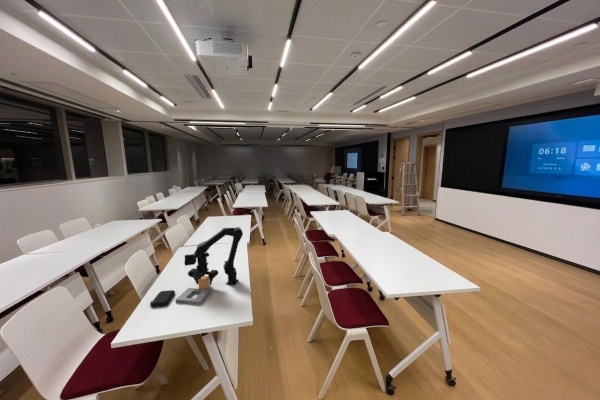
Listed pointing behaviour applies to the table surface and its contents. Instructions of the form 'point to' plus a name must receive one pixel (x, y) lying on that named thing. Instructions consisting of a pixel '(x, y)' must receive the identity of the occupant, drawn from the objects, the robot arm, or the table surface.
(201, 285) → the plug
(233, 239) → the robot arm
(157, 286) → the table surface
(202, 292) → the socket board
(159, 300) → the carrying case or bag
